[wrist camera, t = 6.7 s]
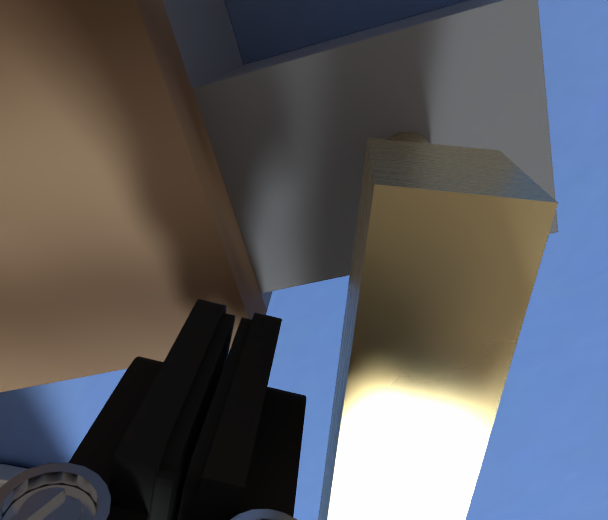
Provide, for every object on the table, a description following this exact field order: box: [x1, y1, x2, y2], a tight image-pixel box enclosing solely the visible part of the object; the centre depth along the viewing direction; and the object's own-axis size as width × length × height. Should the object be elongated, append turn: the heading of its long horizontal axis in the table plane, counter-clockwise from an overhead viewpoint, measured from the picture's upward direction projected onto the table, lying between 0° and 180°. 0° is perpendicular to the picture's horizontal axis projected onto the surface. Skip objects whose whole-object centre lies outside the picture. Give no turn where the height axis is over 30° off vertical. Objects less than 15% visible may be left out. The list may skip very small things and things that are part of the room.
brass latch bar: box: [318, 132, 558, 520], centre depth 10 cm, size 2×9×6 cm, turn 175°
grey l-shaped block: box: [163, 0, 558, 309], centre depth 14 cm, size 16×19×6 cm
